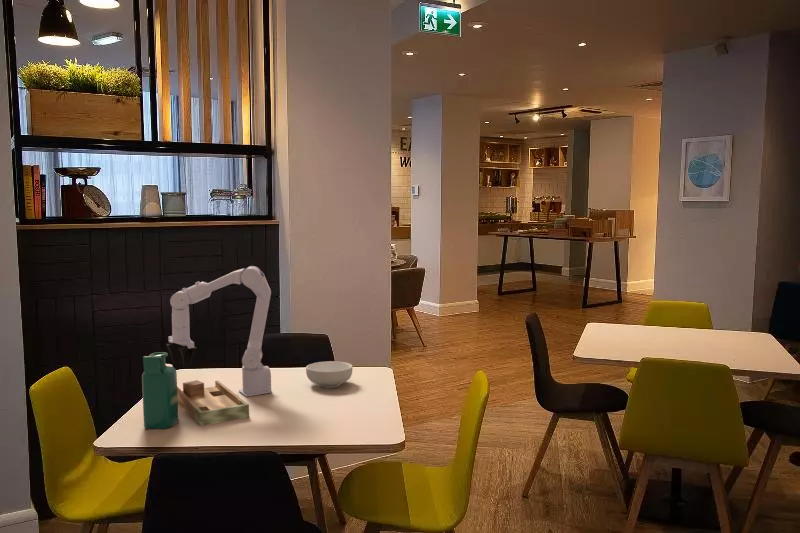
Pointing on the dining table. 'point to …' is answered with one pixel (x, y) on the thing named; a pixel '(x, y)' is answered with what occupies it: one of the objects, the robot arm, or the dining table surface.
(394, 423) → the dining table surface
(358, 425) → the dining table surface
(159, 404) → the green bottle
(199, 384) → the block
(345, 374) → the cereal bowl
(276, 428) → the dining table surface
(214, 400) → the trap box
